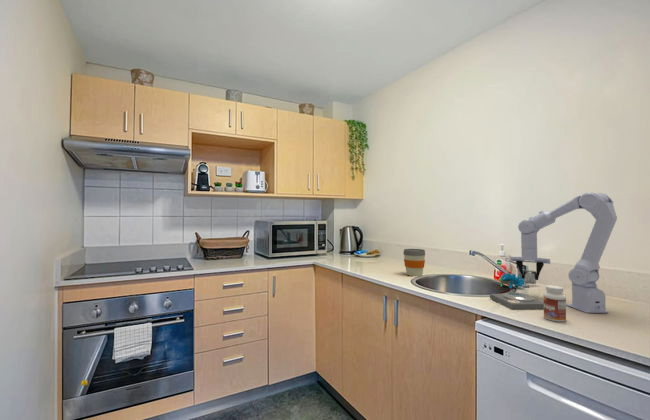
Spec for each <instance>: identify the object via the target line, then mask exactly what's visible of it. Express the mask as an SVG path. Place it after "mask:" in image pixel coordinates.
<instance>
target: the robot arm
mask: <svg viewBox="0 0 650 420" xmlns="http://www.w3.org/2000/svg"><path fill="white" fill-rule="evenodd" d="M576 210H585V211H587V212H589V213H590V214H591V216H592V217H593V218H594V219H595V222H594V225H593V227H592V230H591V231H590V234H589V237H588V238H587V242H586V245H585V247H584V249H583V252H582V255H581V257H580V258H579V260H578V261H577V262H576V264H575V265H574V267H573V268H572V269H570V271H569V272H568V279H569V280H570V282H571V297H572V298H571V303H566V307H567V306H568V307H570V308H572V309H575V310H579V311H581V312H583V313H585V314H586V313H587V314H605V313H606V314H607V313H608V312H609V311H608V310H607V309H606V307H607V306H606V305H607V304H606V294H605V292H604V291H603V290H601V289H600V288H599V287H598V285H597V283H596V282H598V281H599V279H600V268H601V266H600V264H599V263H600V261H601V258H602V256H603V253H604V251H605V249H606V246H607V244H608V242H609V240H610V236H611V234H612V232H613V230H614V227H615V224H616V222H617V219H618V217H617V213H616V210H615V206H614V200H613V199H612V198H611V197H610V196H609V195H608V194H606V193H602V192H598V193H597V192H589V191H587V192H585V193H583V194H581V195H578V196H576V197H573V198H572V199H570V200H568V201H567V202H565V203H563V204H561V205H560V206H558V207H556V208H555V209H553V210H551V211H549V210H541V211H538V214H537V215H534V216H531V217H528V219H524V220H521V221H520V223H519V224H518V225H517V226H518V227H517V228H518V231H519V232H520V235H521V236H520V239H521V240H520V242H521V243H520V244H521V245H520V246H521V249H520V250H521V256H509V262H515V264H516V266H517V268H518V270H519V272H520V277H521V279H524V276H523V271H524V268H523V267H524V266H523V265H524V263H533V264H534V263H535V266H536V281H539V277H540V274H541V271H542V270H543V268H544V265H545V264H547V265H551V259H550V258H545V257H538V232H540V230H541V229H544V228H546V227H549V226H550V225H552V224H554V223H555V222H556V220H557V218H560V217H561V216H564V215H566V214H568V213H571V212H573V211H576Z"/></svg>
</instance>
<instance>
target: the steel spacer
mask: <svg viewBox="0 0 650 420" xmlns="http://www.w3.org/2000/svg"><path fill="white" fill-rule="evenodd" d="M523 276H524V284H530V285H531V284H532V285H536V284H537V280H536V271H535V270H527V269H525V270H524V269H523Z"/></svg>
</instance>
